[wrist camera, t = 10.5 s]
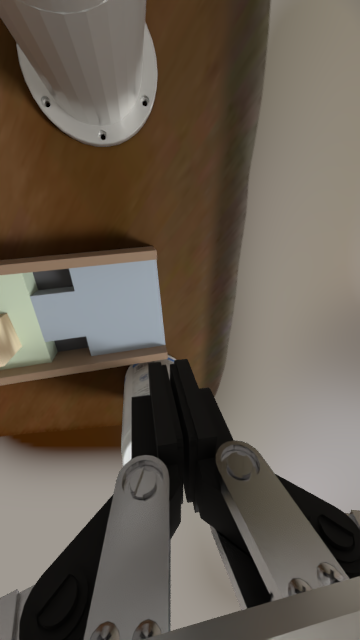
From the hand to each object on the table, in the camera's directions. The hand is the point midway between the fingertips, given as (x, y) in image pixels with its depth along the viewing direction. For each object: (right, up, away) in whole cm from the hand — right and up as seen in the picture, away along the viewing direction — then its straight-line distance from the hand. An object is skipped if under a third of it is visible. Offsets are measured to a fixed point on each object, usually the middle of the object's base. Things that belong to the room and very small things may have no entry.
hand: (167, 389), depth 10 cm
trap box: (-14, +5, +22) cm, 26 cm away
